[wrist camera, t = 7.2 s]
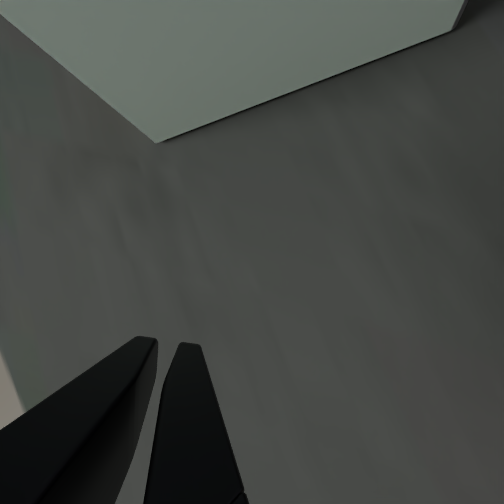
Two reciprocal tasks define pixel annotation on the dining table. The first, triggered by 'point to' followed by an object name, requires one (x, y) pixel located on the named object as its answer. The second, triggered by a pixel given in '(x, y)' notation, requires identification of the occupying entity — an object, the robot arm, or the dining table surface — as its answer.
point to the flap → (217, 48)
